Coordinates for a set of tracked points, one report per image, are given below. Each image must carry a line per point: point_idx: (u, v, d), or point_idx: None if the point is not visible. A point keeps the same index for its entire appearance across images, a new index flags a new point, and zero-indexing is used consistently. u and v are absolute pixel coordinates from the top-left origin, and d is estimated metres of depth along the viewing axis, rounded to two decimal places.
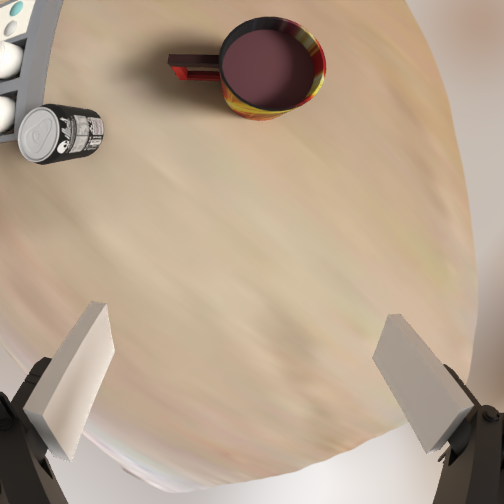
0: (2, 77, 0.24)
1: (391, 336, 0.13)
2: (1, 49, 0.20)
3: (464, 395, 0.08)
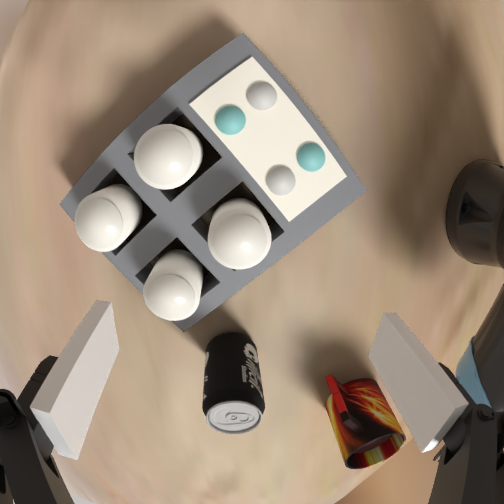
0: None
1: (386, 334, 0.13)
2: (260, 248, 0.25)
3: (459, 393, 0.08)
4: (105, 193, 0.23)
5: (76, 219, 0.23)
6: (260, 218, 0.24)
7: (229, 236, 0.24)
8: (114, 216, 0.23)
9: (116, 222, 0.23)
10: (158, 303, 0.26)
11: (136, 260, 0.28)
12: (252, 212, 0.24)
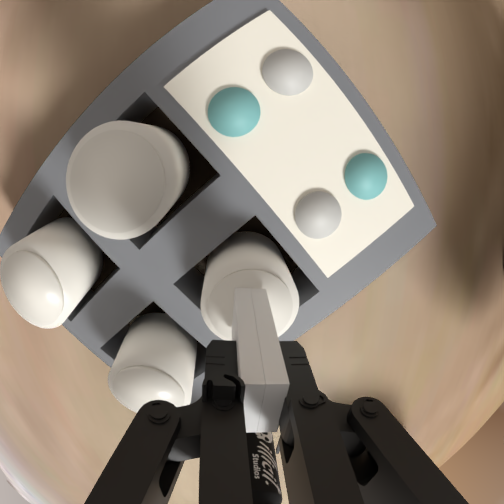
0: None
1: None
2: (282, 318, 0.16)
3: (283, 371, 0.09)
4: (33, 243, 0.12)
5: None
6: (283, 274, 0.15)
7: None
8: (48, 281, 0.13)
9: (52, 290, 0.13)
10: (131, 400, 0.16)
11: (99, 329, 0.18)
12: (270, 266, 0.15)
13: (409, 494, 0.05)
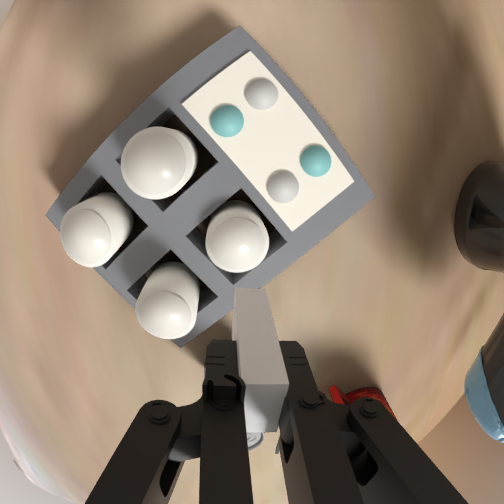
0: None
1: None
2: (258, 251, 0.25)
3: (282, 371, 0.09)
4: (91, 204, 0.20)
5: (61, 232, 0.21)
6: (257, 221, 0.24)
7: (227, 239, 0.24)
8: (101, 229, 0.21)
9: (103, 235, 0.21)
10: (151, 321, 0.24)
11: (128, 274, 0.26)
12: (249, 215, 0.24)
13: (409, 494, 0.05)
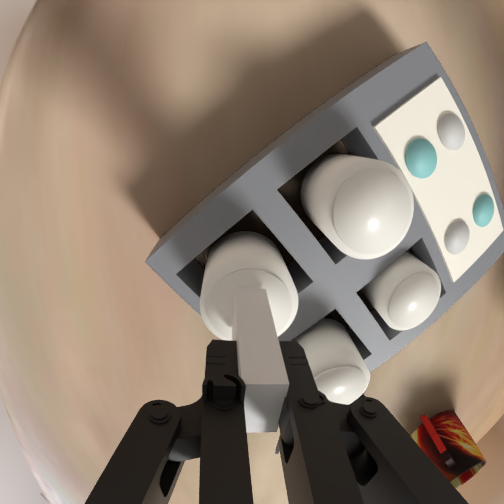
0: (373, 306, 0.22)
1: None
2: (430, 307, 0.19)
3: (282, 371, 0.09)
4: (264, 261, 0.15)
5: (204, 301, 0.15)
6: (436, 276, 0.19)
7: (407, 298, 0.19)
8: (280, 298, 0.15)
9: (282, 307, 0.16)
10: None
11: None
12: (431, 270, 0.19)
13: (409, 494, 0.05)
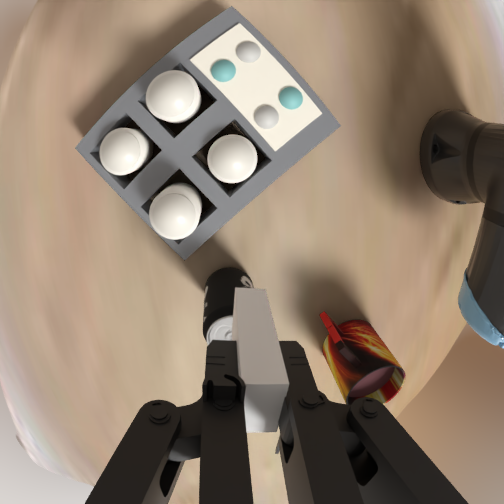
0: None
1: None
2: (248, 164, 0.31)
3: (282, 371, 0.09)
4: (126, 128, 0.28)
5: (101, 150, 0.28)
6: (248, 141, 0.30)
7: (224, 155, 0.30)
8: (133, 144, 0.28)
9: (135, 149, 0.29)
10: (162, 222, 0.29)
11: (143, 191, 0.32)
12: (241, 136, 0.30)
13: (409, 494, 0.05)
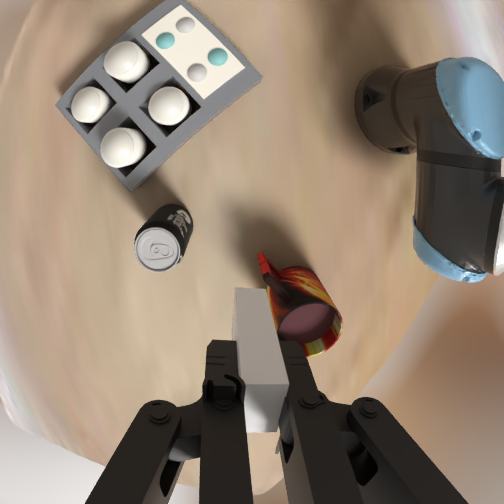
0: None
1: None
2: (179, 108, 0.35)
3: (282, 371, 0.09)
4: (92, 87, 0.33)
5: (72, 104, 0.33)
6: (180, 91, 0.34)
7: (160, 102, 0.34)
8: (95, 98, 0.33)
9: (96, 101, 0.33)
10: (109, 153, 0.34)
11: (101, 135, 0.36)
12: (175, 88, 0.34)
13: (409, 494, 0.05)
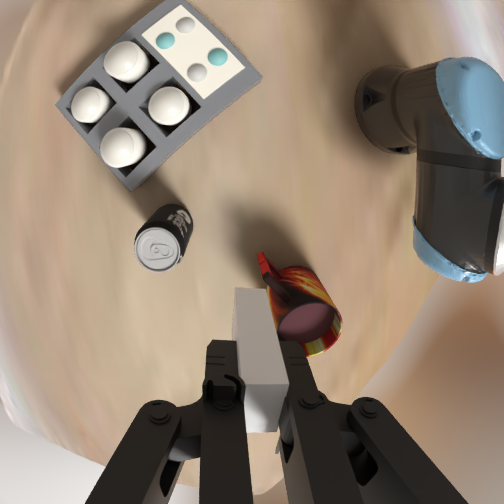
0: None
1: None
2: (179, 108, 0.35)
3: (282, 371, 0.09)
4: (92, 87, 0.33)
5: (72, 104, 0.33)
6: (180, 91, 0.34)
7: (160, 102, 0.34)
8: (95, 98, 0.33)
9: (96, 101, 0.33)
10: (109, 153, 0.34)
11: (101, 135, 0.36)
12: (175, 88, 0.34)
13: (409, 494, 0.05)
